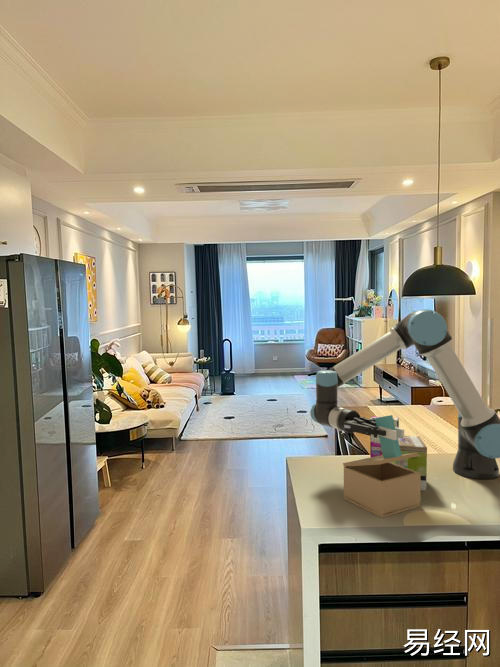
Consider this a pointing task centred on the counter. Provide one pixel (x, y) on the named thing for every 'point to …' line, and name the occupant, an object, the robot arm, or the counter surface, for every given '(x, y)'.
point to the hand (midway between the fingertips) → (399, 434)
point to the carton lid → (384, 447)
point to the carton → (382, 488)
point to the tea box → (414, 463)
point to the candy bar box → (378, 441)
